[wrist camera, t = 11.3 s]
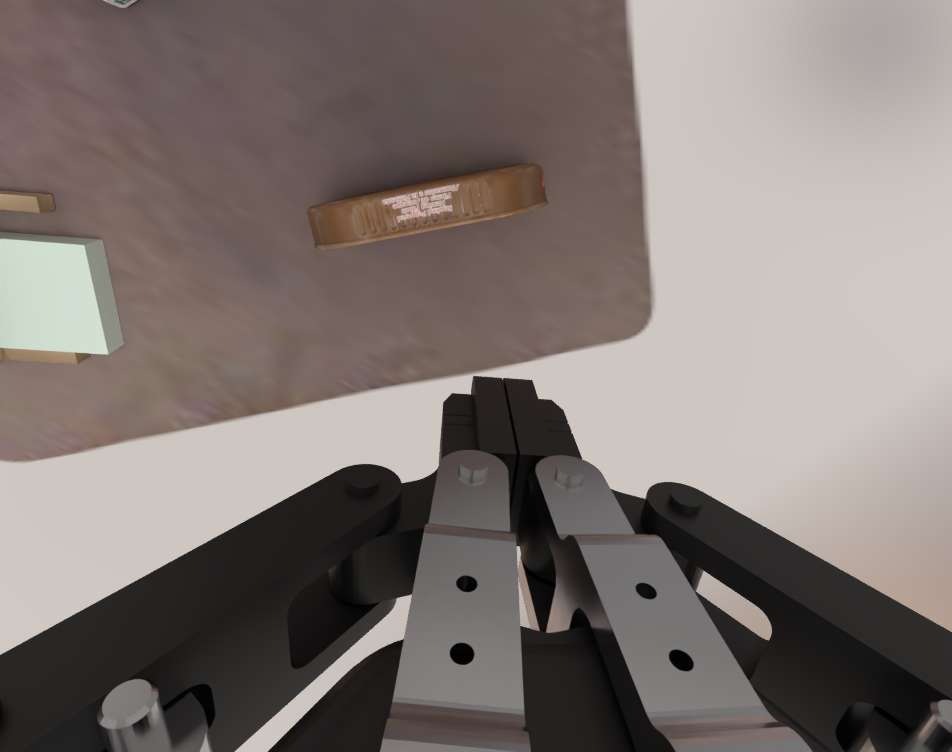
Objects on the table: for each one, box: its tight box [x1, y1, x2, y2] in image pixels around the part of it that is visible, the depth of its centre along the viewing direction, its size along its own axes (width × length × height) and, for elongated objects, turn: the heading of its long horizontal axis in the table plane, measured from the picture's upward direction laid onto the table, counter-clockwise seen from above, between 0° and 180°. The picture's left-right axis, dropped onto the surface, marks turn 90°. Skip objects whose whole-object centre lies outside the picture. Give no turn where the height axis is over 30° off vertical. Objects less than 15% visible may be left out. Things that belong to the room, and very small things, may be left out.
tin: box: [307, 163, 548, 250], centre depth 33 cm, size 15×3×8 cm, turn 100°
